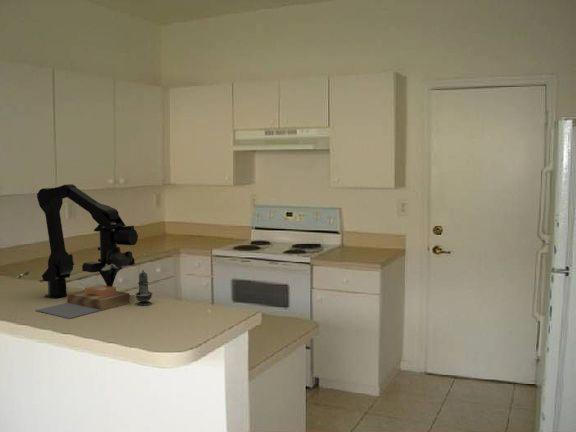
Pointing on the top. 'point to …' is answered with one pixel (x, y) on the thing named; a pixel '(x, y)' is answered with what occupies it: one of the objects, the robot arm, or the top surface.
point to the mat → (68, 310)
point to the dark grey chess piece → (143, 290)
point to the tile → (100, 290)
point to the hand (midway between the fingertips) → (110, 287)
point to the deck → (98, 299)
